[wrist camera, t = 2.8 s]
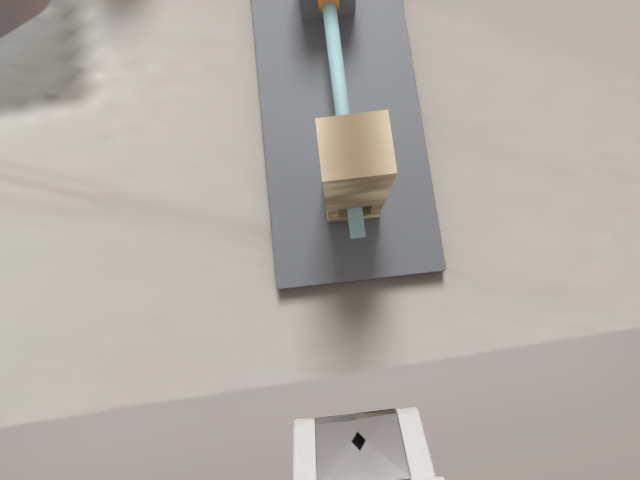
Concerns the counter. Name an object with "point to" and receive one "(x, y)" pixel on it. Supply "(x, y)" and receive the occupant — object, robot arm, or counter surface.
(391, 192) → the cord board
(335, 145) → the notched wooden block
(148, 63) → the counter surface
